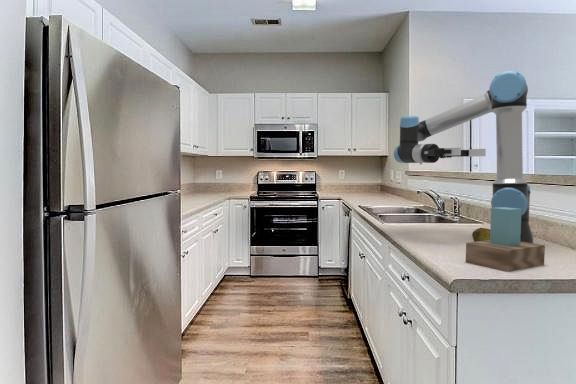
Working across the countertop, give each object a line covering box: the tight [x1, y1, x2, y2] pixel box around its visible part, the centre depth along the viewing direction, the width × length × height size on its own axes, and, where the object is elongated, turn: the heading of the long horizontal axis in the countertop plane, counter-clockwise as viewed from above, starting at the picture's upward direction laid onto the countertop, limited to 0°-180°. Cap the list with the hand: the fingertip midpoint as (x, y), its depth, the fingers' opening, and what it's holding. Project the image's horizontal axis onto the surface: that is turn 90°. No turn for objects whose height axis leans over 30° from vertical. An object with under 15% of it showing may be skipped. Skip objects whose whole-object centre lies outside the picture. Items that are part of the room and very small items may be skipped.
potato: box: [471, 227, 490, 242], centre depth 153 cm, size 8×13×8 cm, turn 51°
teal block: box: [489, 207, 522, 246], centre depth 132 cm, size 6×6×11 cm
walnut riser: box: [465, 240, 546, 272], centre depth 133 cm, size 18×14×6 cm
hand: (472, 152), depth 154 cm, fingers open, 13 cm apart
